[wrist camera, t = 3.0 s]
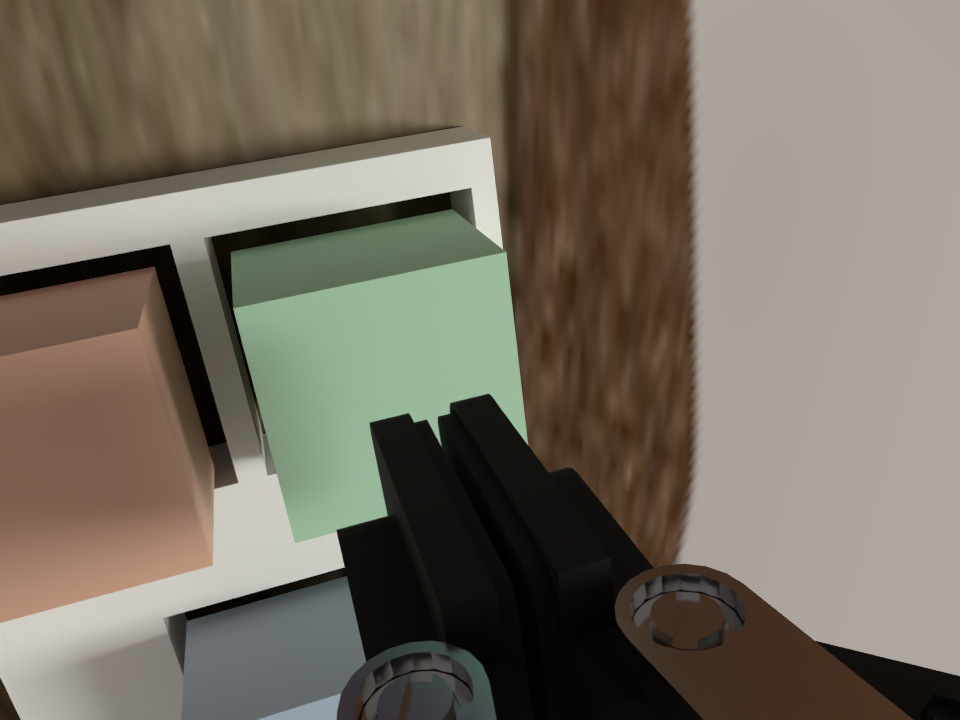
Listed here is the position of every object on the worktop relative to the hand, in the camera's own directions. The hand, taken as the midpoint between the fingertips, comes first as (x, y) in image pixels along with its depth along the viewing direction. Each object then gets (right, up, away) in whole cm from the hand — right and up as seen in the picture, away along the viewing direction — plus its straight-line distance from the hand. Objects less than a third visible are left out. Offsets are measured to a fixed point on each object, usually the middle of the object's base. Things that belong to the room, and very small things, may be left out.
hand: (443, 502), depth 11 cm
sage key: (-2, +3, +6) cm, 6 cm away
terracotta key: (-7, +1, +5) cm, 9 cm away
